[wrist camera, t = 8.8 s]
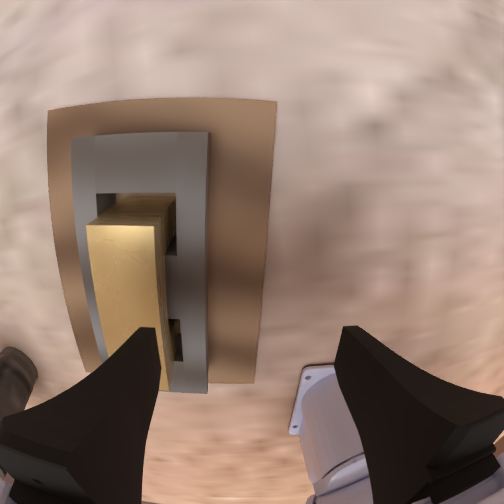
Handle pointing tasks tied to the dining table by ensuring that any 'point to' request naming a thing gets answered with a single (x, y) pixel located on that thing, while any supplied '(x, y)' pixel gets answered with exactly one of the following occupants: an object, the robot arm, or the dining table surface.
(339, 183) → the dining table surface
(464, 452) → the robot arm
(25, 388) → the beverage cup
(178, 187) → the rail board
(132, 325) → the pine wood offcut
